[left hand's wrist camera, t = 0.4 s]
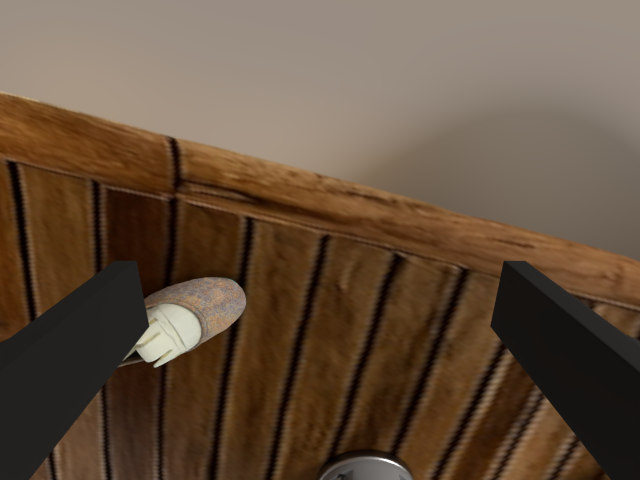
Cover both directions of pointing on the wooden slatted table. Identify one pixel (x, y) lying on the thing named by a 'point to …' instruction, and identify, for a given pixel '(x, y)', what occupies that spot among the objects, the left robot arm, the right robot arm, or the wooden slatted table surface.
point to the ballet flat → (186, 318)
